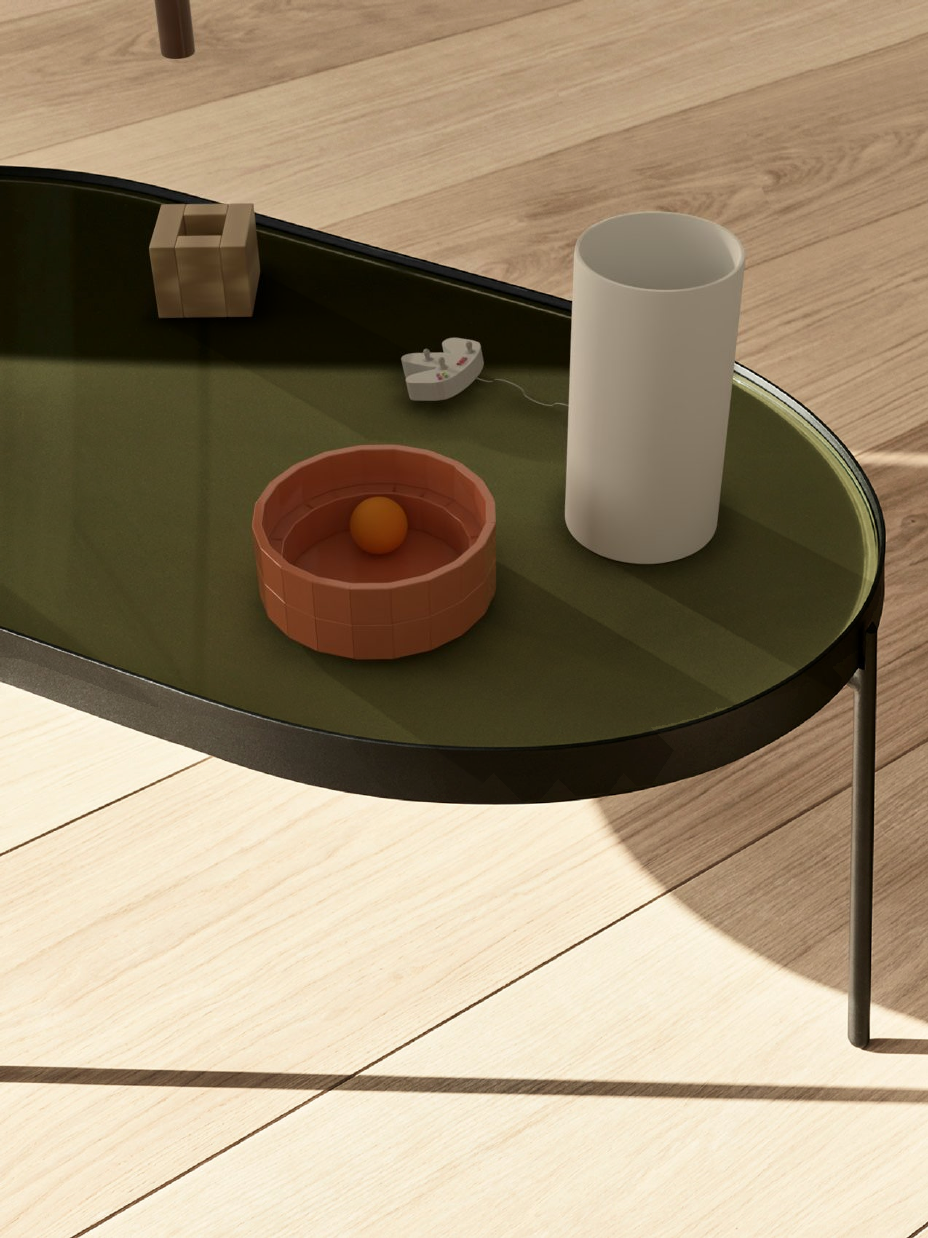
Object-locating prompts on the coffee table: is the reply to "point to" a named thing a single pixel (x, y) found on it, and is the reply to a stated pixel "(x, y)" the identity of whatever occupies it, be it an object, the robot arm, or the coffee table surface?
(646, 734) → the coffee table surface
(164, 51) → the stick
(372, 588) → the bowl
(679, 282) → the cup
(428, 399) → the game controller
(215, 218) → the holder
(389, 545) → the ball
